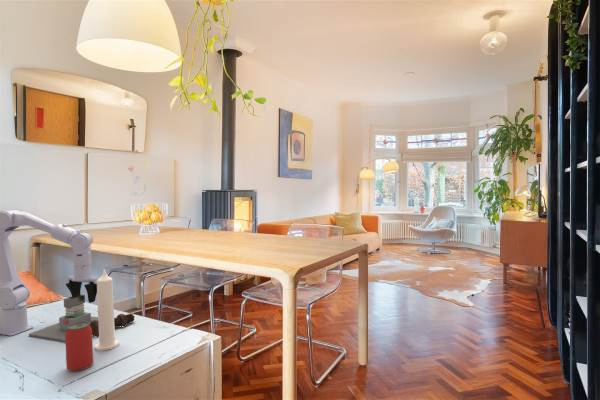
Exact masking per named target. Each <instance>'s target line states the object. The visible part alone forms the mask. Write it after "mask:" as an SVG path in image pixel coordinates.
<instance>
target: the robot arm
mask: <svg viewBox="0 0 600 400" xmlns="http://www.w3.org/2000/svg"><path fill="white" fill-rule="evenodd" d="M20 226H22V227H23V226H29V227H31V228H33V229H35V230H36V229H37V230H39V231H42V232H45V233H48V234H49V235H50V237H51V239H54V240H56V241H59V242H61V243H64V244H67V245H69V247H71V249H72V250H73V251H72V253H73V254H72V255H73V259H72V260H73V274H72V275H67V276H66V282H67V283H65V286H66V288H67V289H68V290H69V292H70V296H71V297H72V296H75V295H78V294H80V295H81V288H82V285H83V283H86V284H84V285H83V286H84V288H85V290H86V294H87V301H88V303H90V304H91V303H94V302H96V298H97V280H98V279H99V278H100V277H101V276H95V275H93V273H92V272H93V269H92V247H91V245H92V244H93V241H94V239H93V237H92V235H91V234H90V233H89V232H86V231H83V232H81V230H80V229H74V228H71V227H70V226H69V225H68V224H67V223H63V224H62V223H58V224H53V223H51V222H48V221H46V220H44V219H42V218H40V217H38V216H36V215H33V214H32V213H29V212H27V211H22V210H21V209H17V208H16V209H15V208H14V209H10V210H0V335H5V336H11V337H13V336H14V335H17V334H20V333H22V332H26V331H28V330H31V329H33V328H34V327H35V326H33V325H28V306H27V304H28V303H27V300H28V299H29V298H30V295H31V292H30V289H29V288H28V287H27V285H26V284H25V281H24V280H23V279H21V278H20V277H19V272H18V270H17V265H16V262H15V259H14V253H13V251H12V250H13V249H12V247H11V244H10V239H9V236H10V235H11V234H12V233H13V232H14V230H16V229H17V228H19V227H20Z"/></svg>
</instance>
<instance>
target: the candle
mask: <svg viewBox="0 0 600 400" xmlns="http://www.w3.org/2000/svg"><path fill="white" fill-rule="evenodd" d="M99 277H100V278H99V279H98V280H97V294H96V298H97V317H98V323H99V336H98V341H99V342H98V343H96V344H95V345H94V349H95V350H96V351H99V352H100V351H101V352H102V351H103V352H104V351H109V350H112V349H115V348H117V347H118V346H119V345H120V343H121V342H120V340H118V339H116V334H115V333H116V332H115V328H116V327H114V318H115V312H114V311H115V309H114V307H115V306H114V282H113V281H114V280H113V278H112V277H111V276H109V275H108V274H107V270H106V269H103V270H102V275H100V276H99Z"/></svg>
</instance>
